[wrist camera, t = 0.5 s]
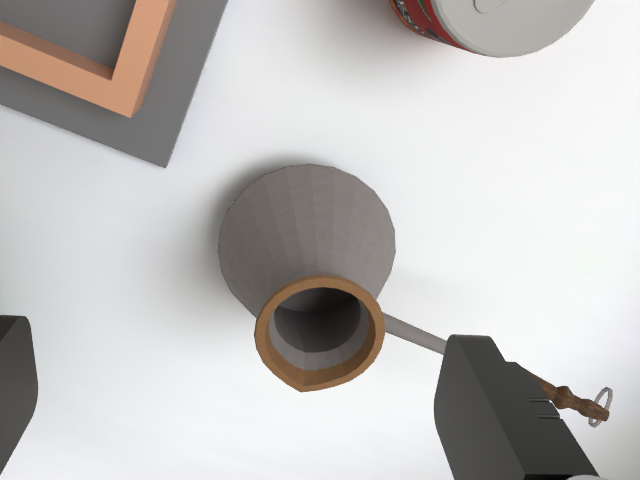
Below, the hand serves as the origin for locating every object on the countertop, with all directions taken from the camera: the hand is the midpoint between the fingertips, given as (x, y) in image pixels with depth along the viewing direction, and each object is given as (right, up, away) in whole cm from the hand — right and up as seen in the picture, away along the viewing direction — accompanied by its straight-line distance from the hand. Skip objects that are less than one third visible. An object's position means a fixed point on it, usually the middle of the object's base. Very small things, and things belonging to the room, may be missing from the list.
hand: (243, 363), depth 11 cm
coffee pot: (+5, +2, +30) cm, 30 cm away
